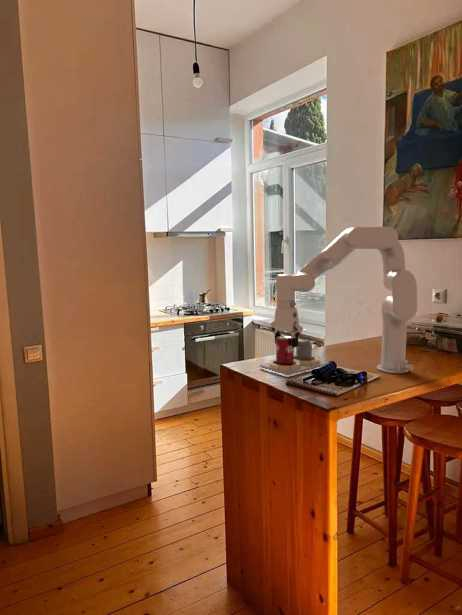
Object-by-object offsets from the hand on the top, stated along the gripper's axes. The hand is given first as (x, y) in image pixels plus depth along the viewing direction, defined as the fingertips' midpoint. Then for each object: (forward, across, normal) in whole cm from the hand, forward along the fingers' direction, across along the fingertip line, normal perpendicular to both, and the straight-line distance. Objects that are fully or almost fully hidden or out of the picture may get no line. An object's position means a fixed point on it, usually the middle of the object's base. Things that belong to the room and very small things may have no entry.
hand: (286, 345), depth 190 cm
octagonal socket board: (+11, +1, -5) cm, 12 cm away
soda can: (+9, 0, 0) cm, 9 cm away
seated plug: (+9, +1, -11) cm, 15 cm away
